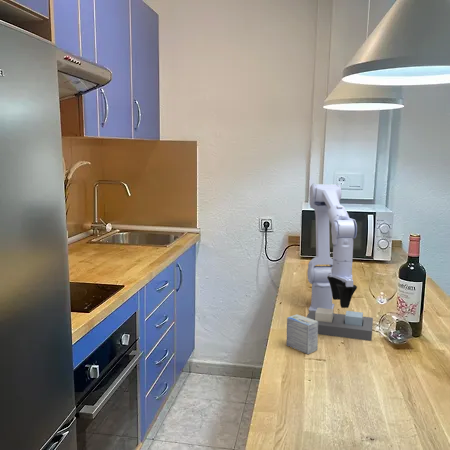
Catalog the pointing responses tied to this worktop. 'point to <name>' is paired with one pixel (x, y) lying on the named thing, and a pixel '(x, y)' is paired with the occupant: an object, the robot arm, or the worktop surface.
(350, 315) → the blue key
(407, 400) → the worktop surface
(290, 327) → the medicine box
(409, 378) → the worktop surface
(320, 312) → the cream key
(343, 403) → the worktop surface
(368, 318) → the grey flat rectangular block
